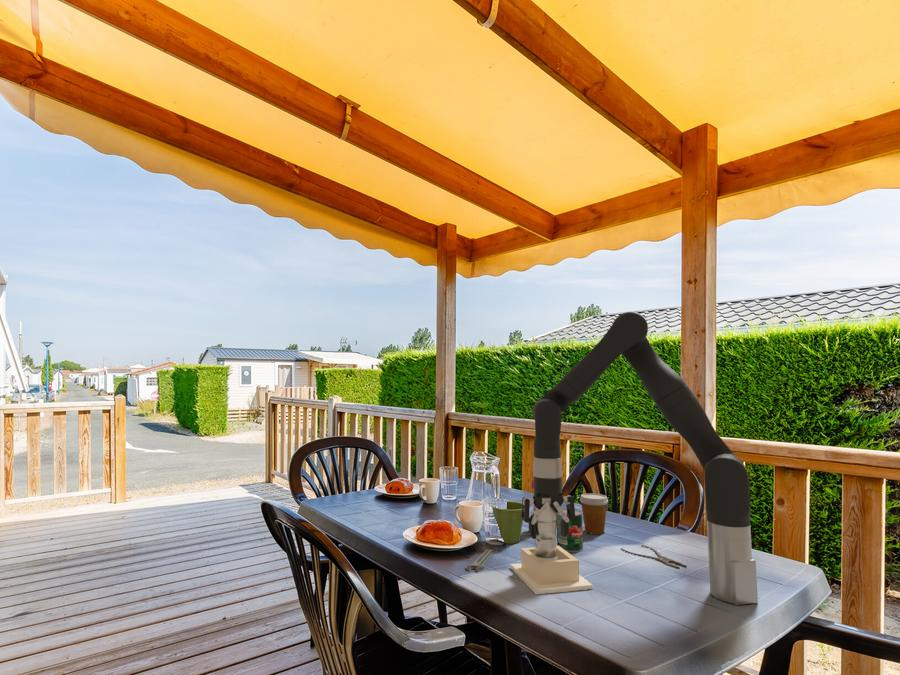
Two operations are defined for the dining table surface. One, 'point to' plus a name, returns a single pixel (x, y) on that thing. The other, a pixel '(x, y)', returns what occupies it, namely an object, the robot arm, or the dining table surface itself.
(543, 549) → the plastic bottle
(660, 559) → the pliers
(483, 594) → the dining table surface
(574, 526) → the canned tomato
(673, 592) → the dining table surface
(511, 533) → the plant pot
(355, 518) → the dining table surface
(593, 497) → the disposable coffee cup
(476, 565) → the wrench
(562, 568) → the housing
